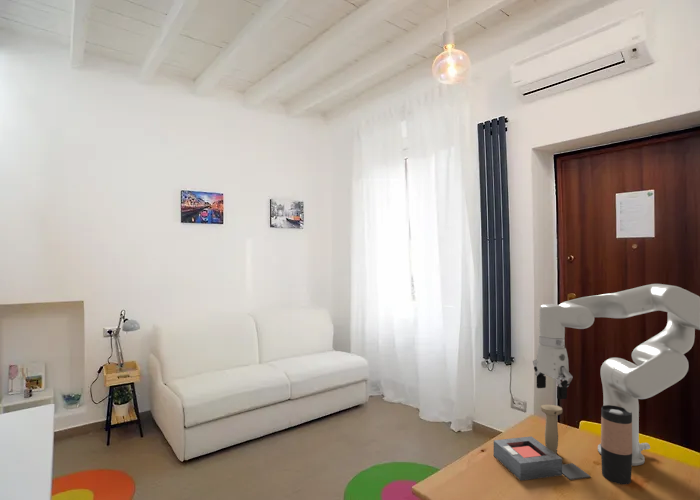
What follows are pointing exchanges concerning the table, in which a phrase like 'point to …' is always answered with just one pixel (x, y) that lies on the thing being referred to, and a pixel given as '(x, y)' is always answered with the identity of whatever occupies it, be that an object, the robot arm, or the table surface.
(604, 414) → the travel mug
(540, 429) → the table surface
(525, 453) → the button
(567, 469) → the mat
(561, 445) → the table surface
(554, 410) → the handle
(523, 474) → the grey shallow box
